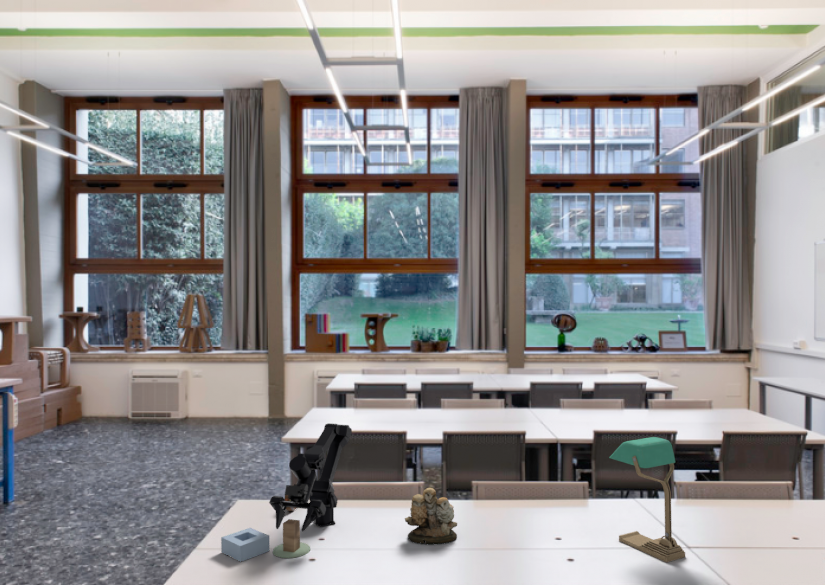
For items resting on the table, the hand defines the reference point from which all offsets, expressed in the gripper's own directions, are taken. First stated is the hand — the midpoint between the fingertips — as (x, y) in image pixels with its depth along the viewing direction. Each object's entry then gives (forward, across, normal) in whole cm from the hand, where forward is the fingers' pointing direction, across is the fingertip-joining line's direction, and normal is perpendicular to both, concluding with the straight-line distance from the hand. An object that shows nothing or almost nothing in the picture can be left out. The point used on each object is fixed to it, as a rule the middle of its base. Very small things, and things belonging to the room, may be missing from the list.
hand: (289, 529), depth 201 cm
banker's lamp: (-18, +113, +29) cm, 118 cm away
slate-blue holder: (+8, -14, +3) cm, 16 cm away
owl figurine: (-11, +42, +22) cm, 48 cm away
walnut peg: (+4, 0, +6) cm, 7 cm away
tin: (-23, -19, +33) cm, 44 cm away
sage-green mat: (+4, 0, +6) cm, 7 cm away
